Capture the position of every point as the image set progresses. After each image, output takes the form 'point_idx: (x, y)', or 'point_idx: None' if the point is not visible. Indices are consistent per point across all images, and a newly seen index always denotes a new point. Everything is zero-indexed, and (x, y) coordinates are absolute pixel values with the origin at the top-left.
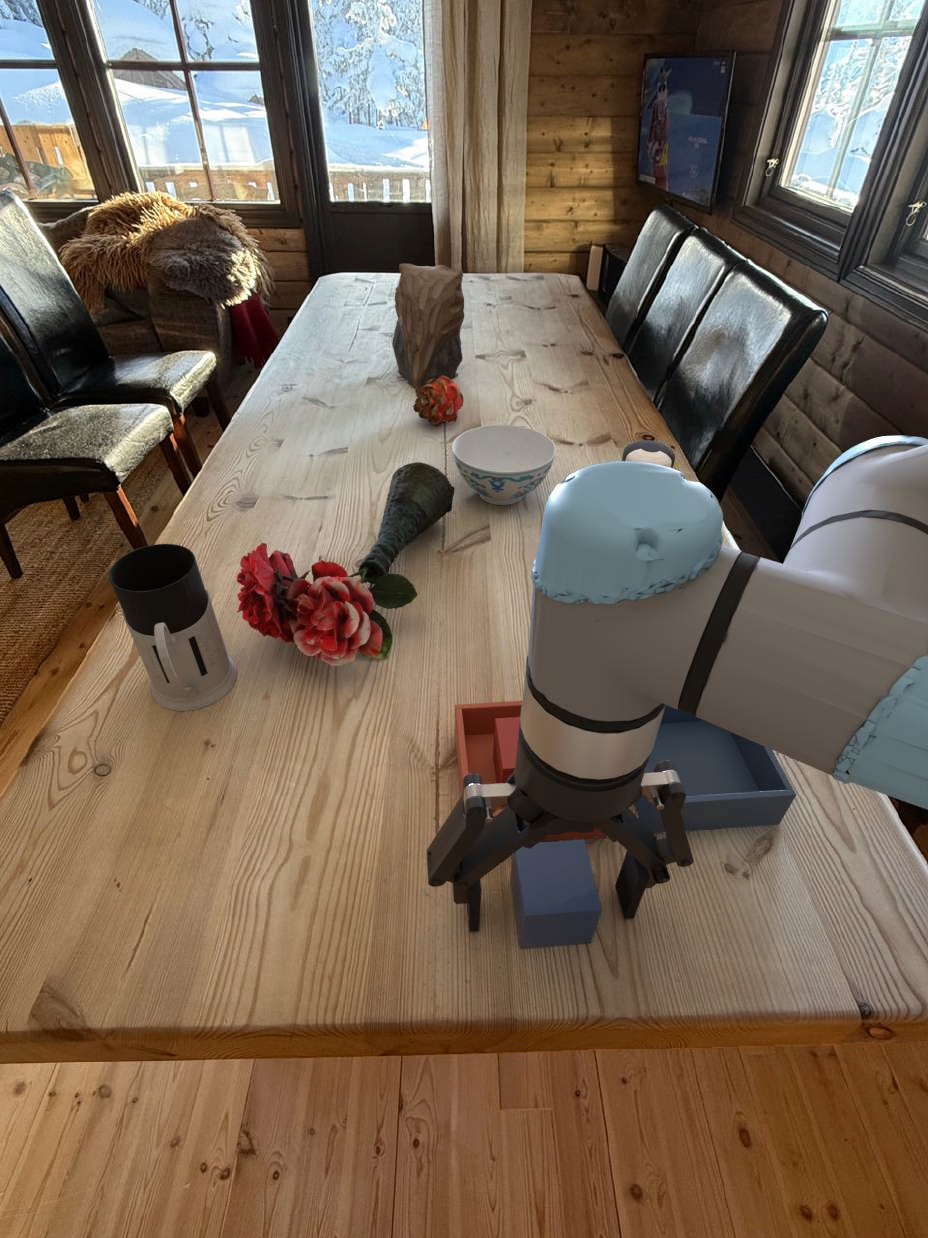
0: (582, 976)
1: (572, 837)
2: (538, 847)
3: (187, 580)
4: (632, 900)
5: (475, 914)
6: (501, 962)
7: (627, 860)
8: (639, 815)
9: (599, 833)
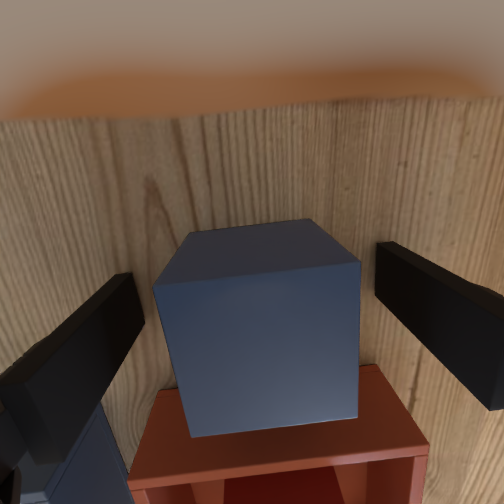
0: (207, 178)
1: None
2: (302, 416)
3: None
4: (95, 307)
5: (423, 265)
6: (342, 196)
7: (89, 398)
8: (103, 426)
9: (167, 399)
